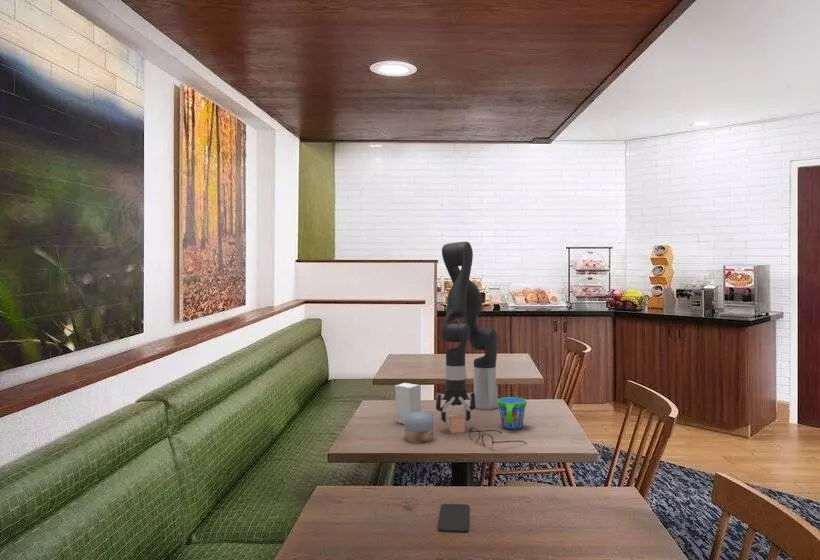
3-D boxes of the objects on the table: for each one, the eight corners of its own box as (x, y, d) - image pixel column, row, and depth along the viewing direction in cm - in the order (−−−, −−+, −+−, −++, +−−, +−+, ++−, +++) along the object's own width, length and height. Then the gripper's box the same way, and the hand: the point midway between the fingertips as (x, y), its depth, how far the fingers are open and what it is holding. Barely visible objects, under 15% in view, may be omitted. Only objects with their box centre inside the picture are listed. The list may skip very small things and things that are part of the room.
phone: (470, 504, 155) (468, 530, 140) (470, 507, 155) (468, 534, 140) (441, 503, 156) (437, 529, 141) (441, 506, 156) (437, 532, 141)
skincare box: (421, 423, 230) (421, 384, 229) (410, 426, 226) (409, 387, 225) (406, 419, 236) (406, 381, 235) (395, 422, 232) (394, 384, 231)
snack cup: (503, 420, 233) (503, 394, 232) (530, 423, 229) (530, 396, 228) (492, 431, 218) (492, 403, 218) (521, 434, 214) (521, 406, 214)
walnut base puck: (430, 435, 217) (430, 422, 216) (436, 443, 207) (435, 430, 207) (402, 436, 215) (402, 424, 215) (407, 445, 205) (407, 432, 205)
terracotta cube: (461, 428, 223) (461, 415, 223) (465, 432, 218) (465, 418, 218) (448, 429, 222) (448, 415, 222) (451, 433, 218) (451, 419, 217)
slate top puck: (430, 423, 217) (430, 410, 216) (435, 431, 207) (435, 418, 206) (402, 424, 215) (402, 412, 215) (407, 432, 205) (406, 419, 205)
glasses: (468, 440, 210) (469, 426, 210) (502, 439, 217) (504, 425, 217) (491, 452, 197) (493, 436, 197) (527, 450, 204) (529, 435, 204)
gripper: (472, 374, 224) (472, 418, 225) (434, 376, 222) (434, 419, 223) (477, 378, 217) (477, 423, 217) (438, 380, 215) (438, 425, 215)
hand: (455, 421), depth 220 cm, fingers open, 8 cm apart
